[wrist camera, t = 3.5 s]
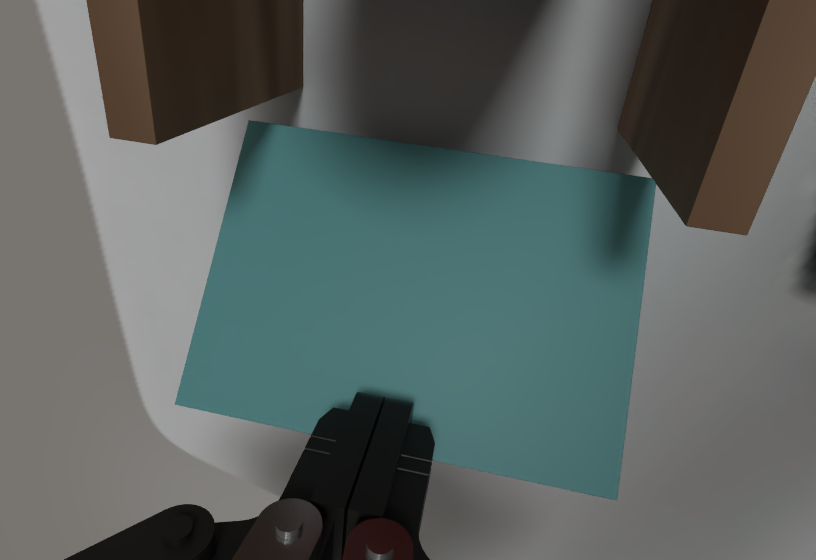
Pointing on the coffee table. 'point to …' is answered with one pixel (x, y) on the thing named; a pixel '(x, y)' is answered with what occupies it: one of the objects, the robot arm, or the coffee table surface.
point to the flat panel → (429, 299)
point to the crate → (639, 125)
